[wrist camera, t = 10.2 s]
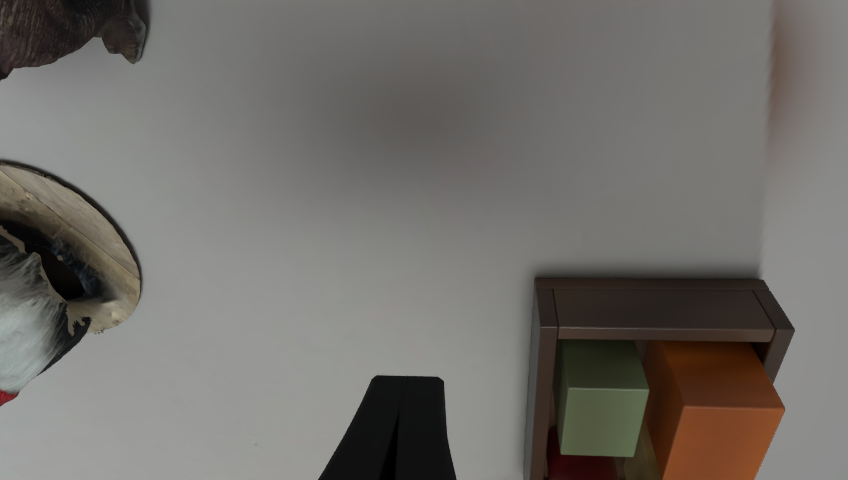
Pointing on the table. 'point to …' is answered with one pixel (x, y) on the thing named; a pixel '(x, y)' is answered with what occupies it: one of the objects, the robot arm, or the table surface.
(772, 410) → the tray of colored blocks
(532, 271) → the table surface
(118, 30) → the dinosaur model
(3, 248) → the figurine
